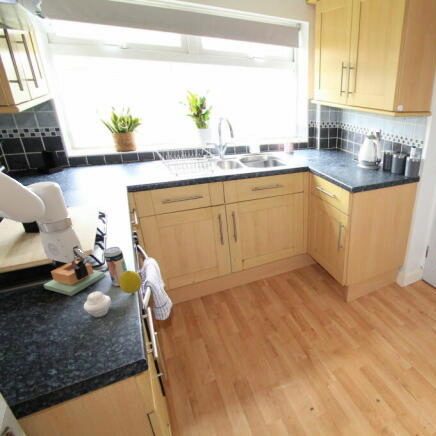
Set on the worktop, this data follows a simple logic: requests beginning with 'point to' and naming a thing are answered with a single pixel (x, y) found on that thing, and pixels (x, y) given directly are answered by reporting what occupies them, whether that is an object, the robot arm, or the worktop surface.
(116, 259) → the beer can
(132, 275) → the lemon
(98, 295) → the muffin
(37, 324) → the worktop surface
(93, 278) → the board
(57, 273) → the orange block with hole
